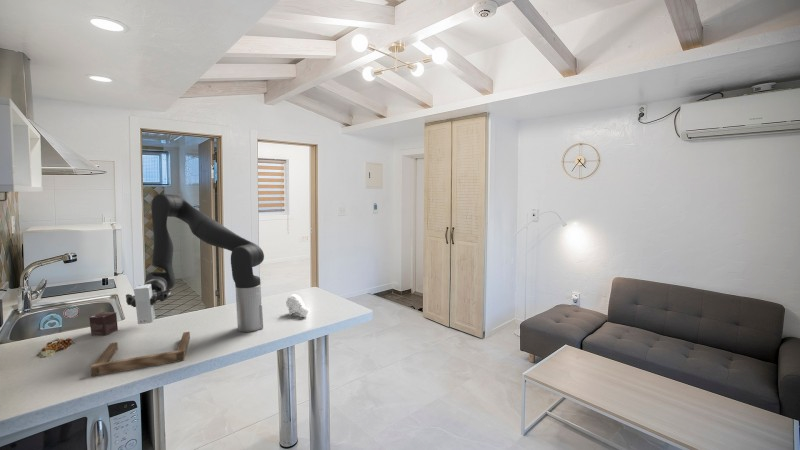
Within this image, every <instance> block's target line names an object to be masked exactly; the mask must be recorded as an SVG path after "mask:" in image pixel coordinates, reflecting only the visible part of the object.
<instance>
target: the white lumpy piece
mask: <svg viewBox="0 0 800 450" xmlns="http://www.w3.org/2000/svg"><path fill="white" fill-rule="evenodd" d="M285 303H286V307H287V309H288V315H289V316H292V315H293V313H297V314H298V316H299V317H300V318H306V317H307V315H308V313H309V309H308V307H306V304H305V303H304V301H303V299H302V297H301V296H299V295H298V294H297V293H296V294H295V293H294V294H290V295H289V296H288V297H287V300H286V302H285Z"/></svg>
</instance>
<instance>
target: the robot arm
mask: <svg viewBox="0 0 800 450" xmlns="http://www.w3.org/2000/svg"><path fill="white" fill-rule="evenodd" d="M150 207H151V220H152V229H153V230H152V231H153V251H152V259H151V260H152V261H151V262H152V265H153V267H156V268H159V269H163V270H164V271H165V272H161V271H160V272H159V271H158V272H157V271H154V272H149V273H148V274H146V277H145V281H144V283H143V285H146V284H151V287H152V294H153V296H152V297H151V298H150V304H151V305H153V304H154V305H155V304H156V303H158V302H159V301H160V302H164V301H166V300H167V299H169V298H170V297H171V295H172V294H171V292H172V291H171V289H173V288H174V287H175V285H176V277H175V276H176V275H175V273H174V268H173V259H174V258H173V256H174V244H173V239H172V238H171V236H170V234H169V230H168V217H169V218H170V217H172V218H177V219H179V220H181V222H184V223H185V224H187V225H188V227H189V229H190V231H191V233H192V234H193V235H194V237H196V238H198V239H199V240H201V241H202V242H204V243H206V244H208V245H210V246H213V247H217V248H221V249H224V250H228V251H230V252H231V253H230V268H231V274H232V275H231V276H232V279H233V282H234V286H235V302H236V303H235V304H236V306H235V307H236V321H237V323H236V324H237V331H239V332H242V333H248V332H249V333H251V332H254V331H258V330H261V329H264V316H263V315H264V314H263V303H262V287H261V285H262V283H261V282H262V281H261V277H260V276H258V275H254V271H253V268H254V267H257V266H260V265H261V264H262V263H263V262H264V259H265V254H264V251H263V250H262V248H261V247H260V246H259V245H258V244H256V243H254V242H253V241H250V240H248V239H246V238H244V237H242V236H240V235H238V234H236V233H235V232H234V231H232V230H230V229H229V228H227V227H226V226H224V225H223V224H221V223H220V222H218V221H217V220H215V219H213V218H212V217H210V216H208V215H207V214H205V213H204V212H201V211H200V210H198V209H197V208H195V207H194V206H193V205H191V203H189V202H188V201H187V200H185V199H184V198H182V197H181V196H180V195H176V194H168V193H158V194H155V196H154V197H152V200H151V206H150ZM125 299H126V300H125V302H126V303H127V306H131V307H132V308H136V302H135V295H132V294H129V293H127V294H125Z"/></svg>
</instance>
